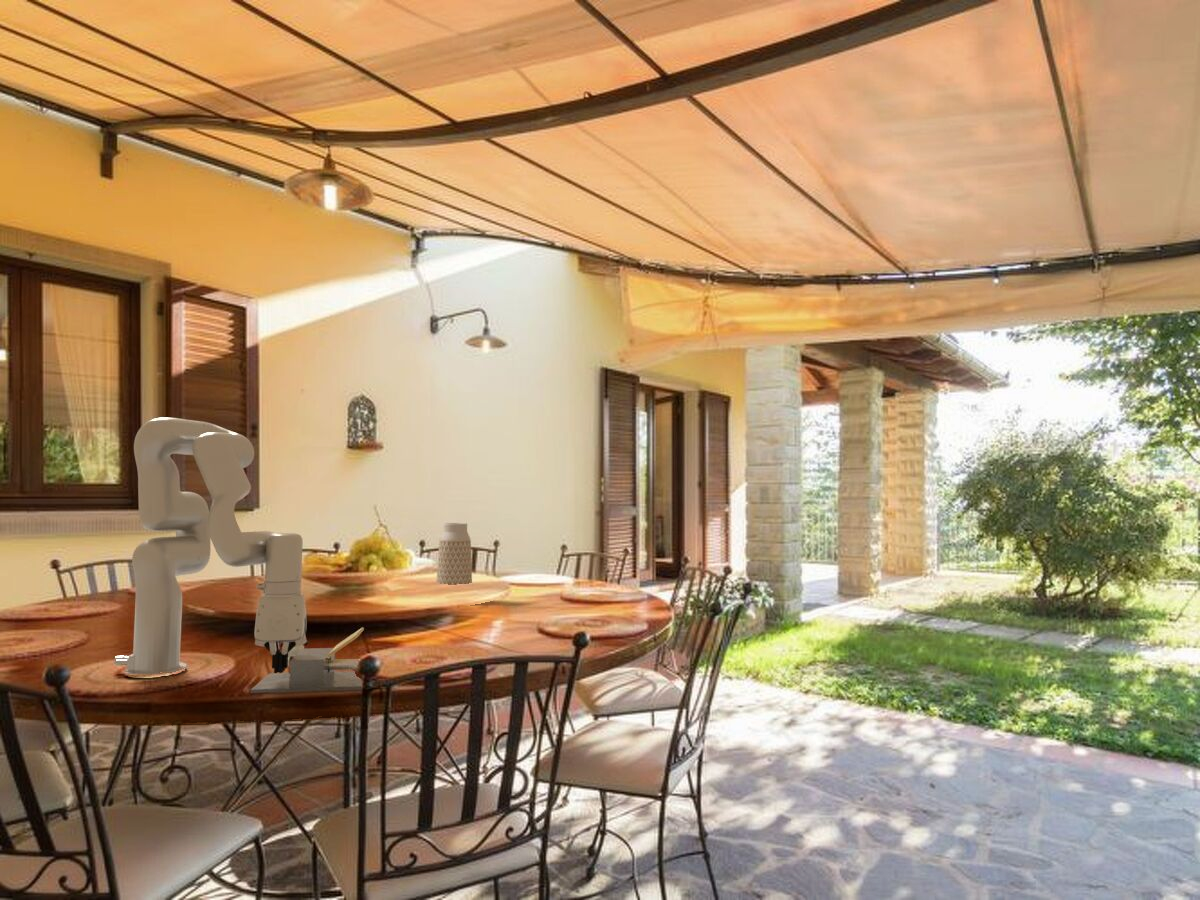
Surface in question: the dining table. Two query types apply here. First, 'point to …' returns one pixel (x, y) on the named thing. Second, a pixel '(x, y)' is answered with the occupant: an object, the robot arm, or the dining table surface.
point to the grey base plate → (309, 675)
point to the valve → (294, 650)
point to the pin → (337, 664)
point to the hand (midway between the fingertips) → (279, 671)
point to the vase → (454, 555)
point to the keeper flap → (344, 643)
